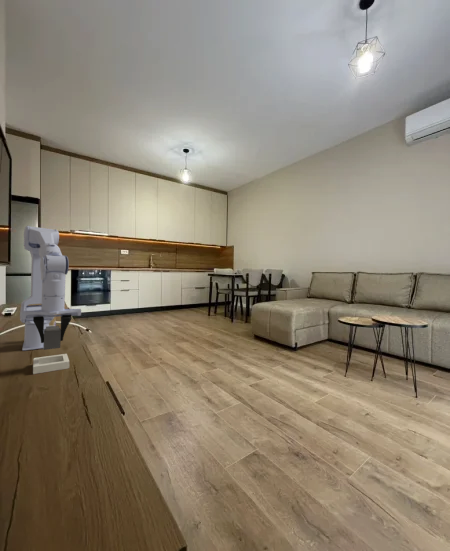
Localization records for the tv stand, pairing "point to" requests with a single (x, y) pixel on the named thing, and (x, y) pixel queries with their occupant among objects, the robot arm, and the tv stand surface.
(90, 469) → the tv stand surface
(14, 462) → the tv stand surface
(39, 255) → the robot arm
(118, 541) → the tv stand surface
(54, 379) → the tv stand surface
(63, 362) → the socket block
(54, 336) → the stepped grey plug block
